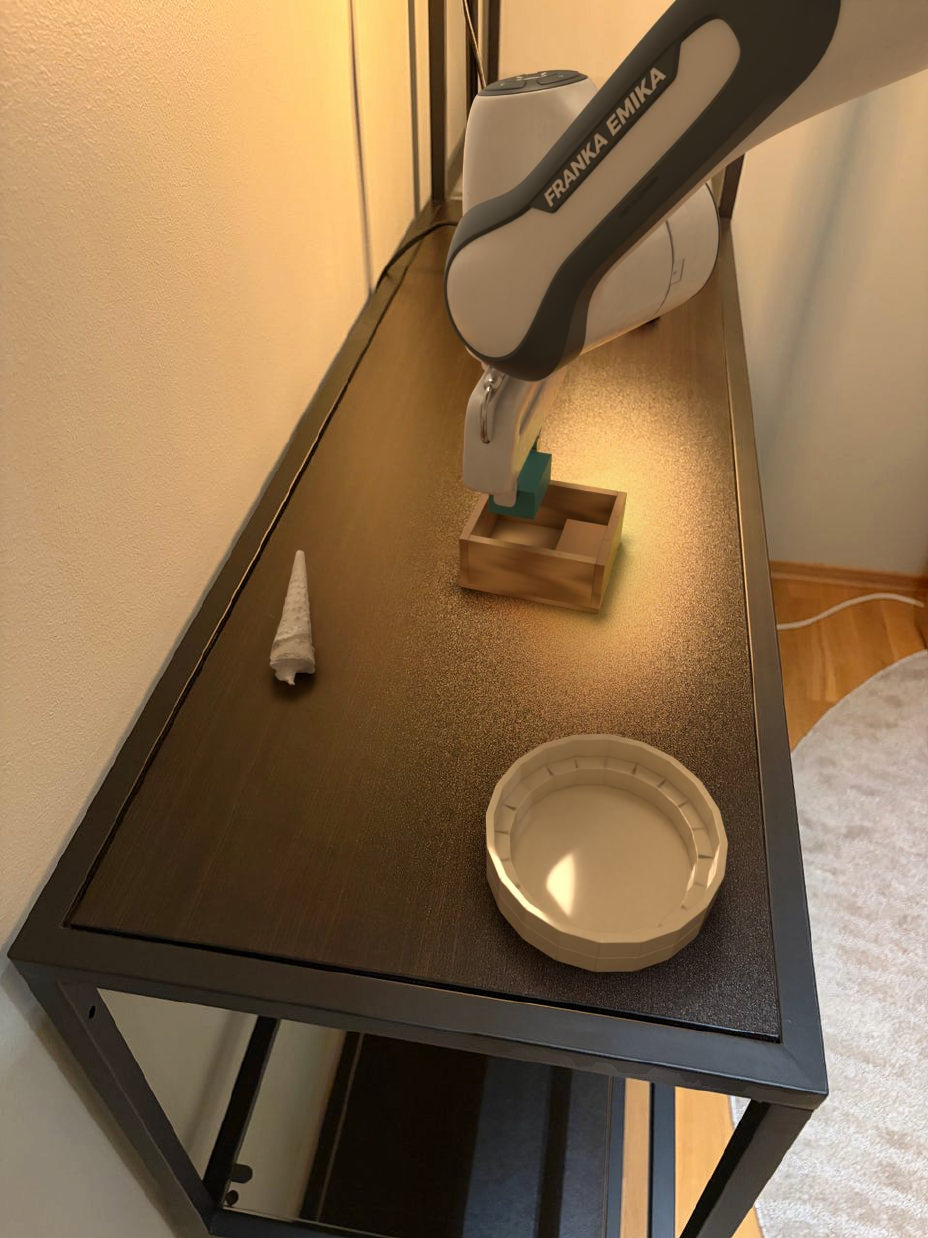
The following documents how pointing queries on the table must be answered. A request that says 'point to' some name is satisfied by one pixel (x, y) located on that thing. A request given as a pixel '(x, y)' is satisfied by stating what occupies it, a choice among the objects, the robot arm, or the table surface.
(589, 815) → the bowl
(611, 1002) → the table surface
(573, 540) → the tan rectangular block
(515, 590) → the holder
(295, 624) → the seashell
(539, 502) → the teal rectangular block
